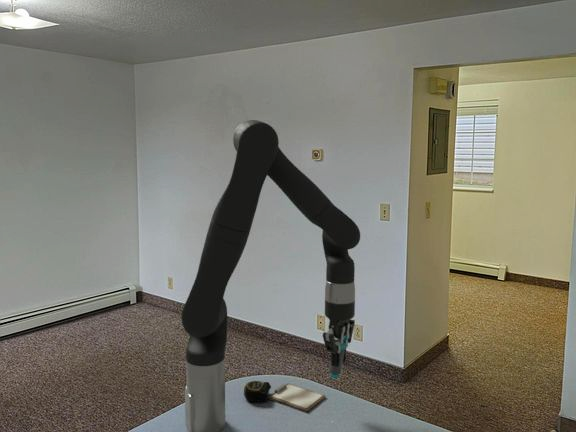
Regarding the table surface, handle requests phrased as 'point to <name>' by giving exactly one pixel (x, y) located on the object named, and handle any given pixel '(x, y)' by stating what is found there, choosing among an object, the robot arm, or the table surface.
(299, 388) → the clipboard
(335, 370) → the marker
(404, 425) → the table surface
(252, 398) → the tape measure
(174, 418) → the table surface
